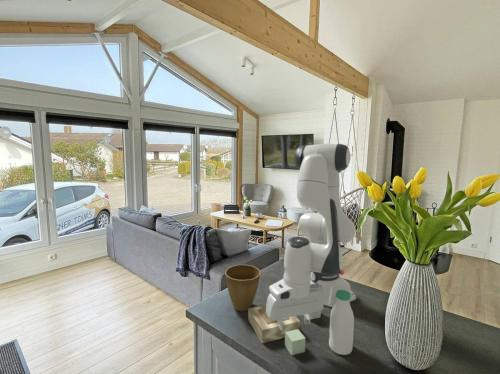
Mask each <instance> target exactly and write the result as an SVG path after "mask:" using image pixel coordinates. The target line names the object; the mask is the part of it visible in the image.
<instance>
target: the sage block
mask: <svg viewBox="0 0 500 374" xmlns="http://www.w3.org/2000/svg"><path fill="white" fill-rule="evenodd" d="M284 346H285V348H286V350H287V351H288V352H289V353H290V355H291V356H294V355H299V354H301V353H305V352H306V336H305V335H304V334H303V333H302V332H301V330H300V331H299V330H298V329H296V330H292V331H288V332H285V338H284Z"/></svg>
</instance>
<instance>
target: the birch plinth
mask: <svg viewBox="0 0 500 374" xmlns="http://www.w3.org/2000/svg"><path fill="white" fill-rule="evenodd" d="M247 311H248V316H247V317H248V319H247V320H248V322H249V324H250V326H251V327H252V329H253V330H254V332H255V334H256V335H257V337H258V339H259V341H260V342H261V344H265V343H270V342H272V341H276V340H277V341H278V340H281V339H285V332H288V331H292V330H296V329H298V330H299V331H300V332H301V329H300V328H301V320H300V319H299V318H298V317H297V316H293V317H288V318H283V321H281V322H283V323H284V324H285V330H280V329H279V322H278V321H277V320H274V321H272V320H270V319H269V317H268V316H267V314H266V304H265V305H260V306H259V305H258V306H255V307H251V308H249V309H248V310H247Z"/></svg>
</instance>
